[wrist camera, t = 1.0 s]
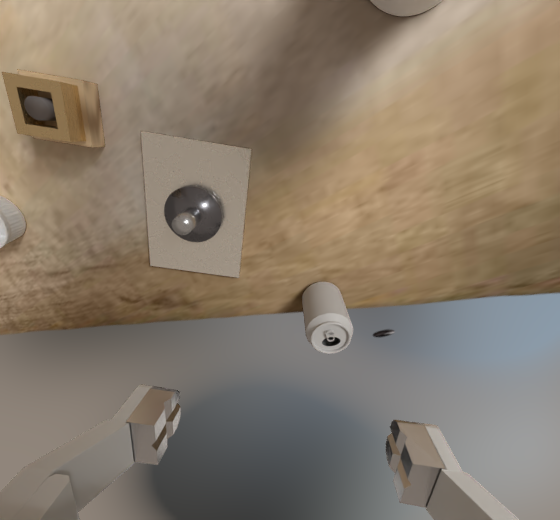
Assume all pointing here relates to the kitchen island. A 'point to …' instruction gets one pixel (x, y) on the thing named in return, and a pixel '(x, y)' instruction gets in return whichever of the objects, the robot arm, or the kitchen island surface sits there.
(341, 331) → the can
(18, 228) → the ramekin
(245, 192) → the stone base with peg
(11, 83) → the tan square hollow frame
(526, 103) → the kitchen island surface
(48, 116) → the stand
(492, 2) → the kitchen island surface
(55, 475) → the robot arm
